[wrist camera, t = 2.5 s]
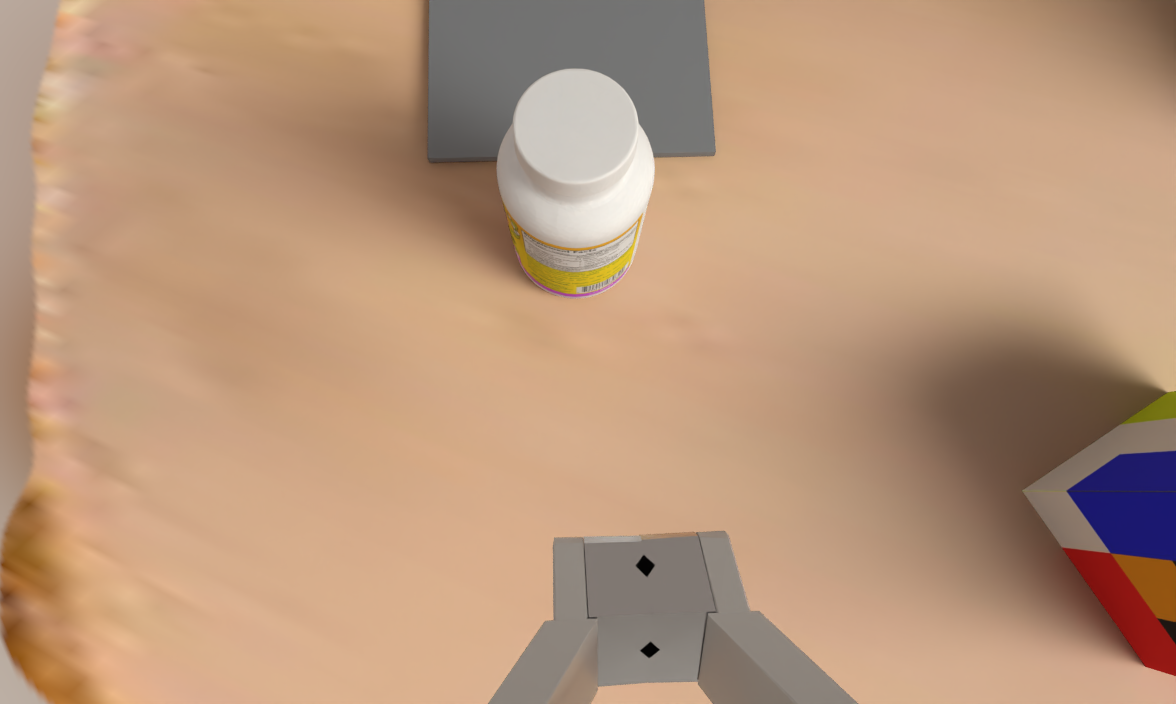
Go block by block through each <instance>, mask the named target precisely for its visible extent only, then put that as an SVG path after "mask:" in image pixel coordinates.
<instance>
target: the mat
mask: <svg viewBox="0 0 1176 704" xmlns="http://www.w3.org/2000/svg"><path fill="white" fill-rule="evenodd" d="M563 69H588V70H592V71H596V72H599V73H601V74H603V75H606V76H608V77H609V78H611V79H612V80H614V81H615V82H617V83H618V84H619V85H620V86H621V87H622V88H623V89H624V90H625V91H626V93H627V94H628V95H629V97H630V98H631V100H632V102H633V104H634V106H635V109H636V112H637V116H638V123H639V125H640V126H641V127H642V129H643V130H644V132H645V134H646V136H647V138H648V140H649V143H650V145H651V148H652V152H653V157H691V156H714V155H715V152H716V149H715V136H714V123H713V110H712V97H711V84H710V71H709V59H708V46H707V33H706V20H705V7H704V0H429V73H428V160H429V162H470V161H497V158H498V153H499V149H500V146H501V143H502V141H503V139H504V136H505V134H506V133H507V131H508V129H509V128H510V126H511V125H512V124H513V116H514V112H515V108H516V106H517V103H518V101H519V100H520V98H521V96H522V95H523V93H524V92H525V91H526V90H527V89H528V87H530V86H531V85H532V84H533V83H534V82H535V81H537V80H538V79H540V78H541V77H543V76H545V75H547V74H549V73H552V72H555V71H558V70H563Z"/></svg>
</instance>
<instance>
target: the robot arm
mask: <svg viewBox="0 0 1176 704" xmlns="http://www.w3.org/2000/svg"><path fill="white" fill-rule="evenodd" d="M553 606H554V620H551V621H545V622H544V623H543V625H542V626H541V628H540V629H539V630H538V632H537V633H536V635H535V636H534V638H533V639H532V641H531V642H530V644H529V645H528V646H527V648H526V649H525V651H524V652H523V654H522V655H521V657H520V658H519V660H518V661H517V662H516V664H515V665H514V667H513V668H512V670H511V671H510V673H509V674H508V675H507V677H506V678H505V680H504V681H503V683H502V684H501V686H500V687H499V689H498V690H497V691H496V693H495V694H494V696H493V697H492V699H491V700H490V702H489V703H488V704H591V702H592V700H593V698H594V696H595V694H596V692H597V690H598V687H599V686H611V685H624V684H637V683H647V682H648V683H656V682H698V685H699V686H700V688H701V689H702V690H703V691H704V693H705V694H706V695H707V697H708V698H709V699H710V701H711V702H712V703H713V704H858V703H857V702H856V701H855V700H854V699H853V698H852V697H851V696H850V695H849V694H847V693H846V692H845V691H844V690H843V689H842V688H841V687H840V686H839V685H838V684H837V683H836V682H835V681H834V680H832V679H831V678H830V677H829V676H828V675H827V674H826V673H825V672H824V671H823V670H822V669H821V668H820V667H819V666H818V665H816V664H815V663H814V662H813V661H812V660H811V659H810V658H809V657H808V656H807V655H806V654H805V653H804V652H803V651H801V650H800V649H799V648H798V647H797V646H796V645H795V644H794V643H793V642H792V641H791V640H790V639H789V638H788V637H787V636H785V635H784V634H783V633H782V632H781V631H780V630H779V629H778V628H777V627H776V626H775V625H774V624H773V623H772V622H770V621H769V620H768V619H767V618H766V617H765V616H764V615H763V614H762V613H761V612H760V611H750V607H749V604H748V601H747V597H746V594H745V590H744V587H743V583H742V580H741V576H740V573H739V569H738V566H737V562H736V559H735V556H734V552H733V549H732V545H731V542H730V538H729V535H728V534H727V533H726V532H725V531H712V532H697V533H695V532H684V533H665V534H647V535H639V536H597V537H584V539H583V537H564V538H554V542H553Z"/></svg>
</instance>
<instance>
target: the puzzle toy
mask: <svg viewBox="0 0 1176 704" xmlns="http://www.w3.org/2000/svg"><path fill="white" fill-rule="evenodd" d="M1022 492H1023V493H1024V494H1025V496H1026V497H1027V499H1028V500H1029V502H1030V503H1031V504H1032V506H1033V507H1034V509H1035V510H1036V511H1037V513H1038V514H1039V516H1040V517H1041V519H1042V520H1043V521H1044V523H1045V524H1046V526H1047V527H1048V529H1049V530H1050V531H1051V533H1052V534H1053V536H1054V537H1055V538H1056V540H1057V541H1058V543H1059V544H1060V546H1061V547H1062V548H1063V550H1064V551H1065V553H1066V554H1067V556H1068V557H1069V558H1070V560H1071V561H1072V563H1073V564H1074V566H1075V567H1076V568H1077V570H1078V571H1079V573H1080V574H1081V575H1082V577H1083V578H1084V580H1085V581H1086V583H1087V584H1088V585H1089V587H1090V588H1091V590H1092V591H1093V593H1094V594H1095V595H1096V597H1097V598H1098V600H1099V601H1100V602H1101V604H1102V605H1103V607H1104V608H1105V610H1106V611H1107V612H1108V614H1109V615H1110V617H1111V618H1112V620H1113V621H1114V622H1115V624H1116V625H1117V627H1118V628H1119V629H1120V631H1121V632H1122V634H1123V635H1124V637H1125V638H1126V639H1127V641H1128V642H1129V644H1130V645H1131V647H1132V648H1133V649H1134V651H1135V652H1136V654H1137V655H1138V656H1139V658H1140V659H1141V661H1142V662H1143V664H1144V665H1145V666H1146V667H1148V668H1151V669H1155V670H1158V671H1161V672H1164V673H1168V674H1171V675H1174V676H1176V391H1174V392H1168V393H1166V394H1165V395H1163V396H1162V397H1160V398H1159V399H1157V400H1156V401H1154V402H1153V403H1151V404H1150V405H1148V406H1147V407H1145V408H1144V409H1142V410H1141V411H1139V412H1138V413H1136V414H1135V415H1134V416H1132V417H1131V418H1129V419H1128V420H1126V421H1125V422H1123V423H1122V424H1120V425H1119V426H1117V427H1116V428H1114V429H1113V430H1111V431H1110V432H1108V433H1107V434H1105V435H1104V436H1102V437H1101V438H1099V439H1098V440H1096V441H1095V442H1094V443H1092V444H1091V445H1089V446H1088V447H1086V448H1085V449H1083V450H1082V451H1080V452H1079V453H1077V454H1076V455H1074V456H1073V457H1071V458H1070V459H1068V460H1067V461H1065V462H1064V463H1062V464H1061V465H1059V466H1058V467H1056V468H1055V469H1053V470H1052V471H1051V472H1049V473H1048V474H1046V475H1045V476H1043V477H1042V478H1040V479H1039V480H1037V481H1036V482H1034V483H1033V484H1031V485H1030V486H1028V487H1027V488H1025V489H1024V490H1022Z"/></svg>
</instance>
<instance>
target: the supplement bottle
mask: <svg viewBox="0 0 1176 704" xmlns="http://www.w3.org/2000/svg"><path fill="white" fill-rule="evenodd" d="M654 173H655V165H654V157H653V152H652V148H651V145H650V143H649V140H648V138H647V136H646V134H645V132H644V130H643V129H642V127H641V126H640V125H639V123H638V116H637V112H636V109H635V106H634V104H633V102H632V100H631V98H630V97H629V95H628V94H627V93H626V91H625V90H624V89H623V88H622V87H621V86H620V85H619V84H618V83H617V82H615V81H614V80H612V79H611V78H609V77H608V76H606V75H603V74H601V73H599V72H596V71H592V70H588V69H563V70H558V71H555V72H552V73H549V74H547V75H545V76H543V77H541V78H540V79H538V80H537V81H535V82H534V83H533V84H532V85H531V86H530V87H528V89H527V90H526V91H525V92H524V93H523V95H522V96H521V98H520V100H519V101H518V103H517V106H516V108H515V112H514V116H513V124H512V125H511V126H510V128H509V129H508V131H507V133H506V134H505V136H504V139H503V141H502V143H501V146H500V149H499V153H498V158H497V181H498V185H499V191H500V194H501V198H502V202H503V205H504V209H505V213H506V217H507V221H508V225H509V229H510V233H511V237H512V240H513V244H514V248H515V252H516V255H517V257H518V260H519V263H520V265H521V267H522V269H523V270H524V272H525V273H526V275H527V276H528V277H529V278H530V279H531V280H532V281H533V282H534V283H535V284H536V285H537V286H539V287H540V288H542V289H543V290H545V291H547V292H549V293H551V294H553V295H556V296H560V297H565V298H573V299H576V298H587V297H592V296H595V295H598V294H601V293H603V292H605V291H607V290H608V289H610V288H611V287H613V286H614V285H615V284H617V283H618V282H619V281H620V280H621V279H622V278H623V276H624V275H625V274H626V272H627V271H628V269H629V268H630V266H631V264H632V262H633V259H634V256H635V252H636V249H637V245H638V241H639V237H640V233H641V229H642V225H643V221H644V217H645V213H646V209H647V205H648V202H649V198H650V195H651V191H652V187H653V183H654Z"/></svg>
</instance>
